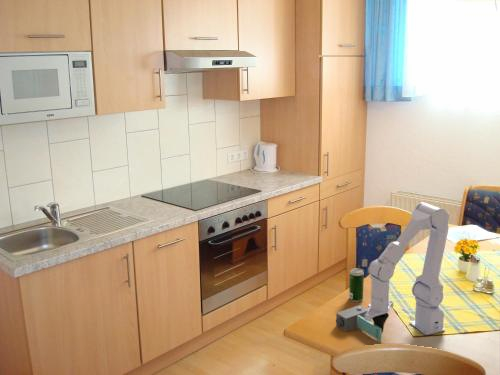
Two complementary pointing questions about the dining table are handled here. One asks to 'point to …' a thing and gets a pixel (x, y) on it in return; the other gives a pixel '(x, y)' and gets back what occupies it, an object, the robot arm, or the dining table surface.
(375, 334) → the side door
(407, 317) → the dining table surface
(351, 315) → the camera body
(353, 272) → the beer can
